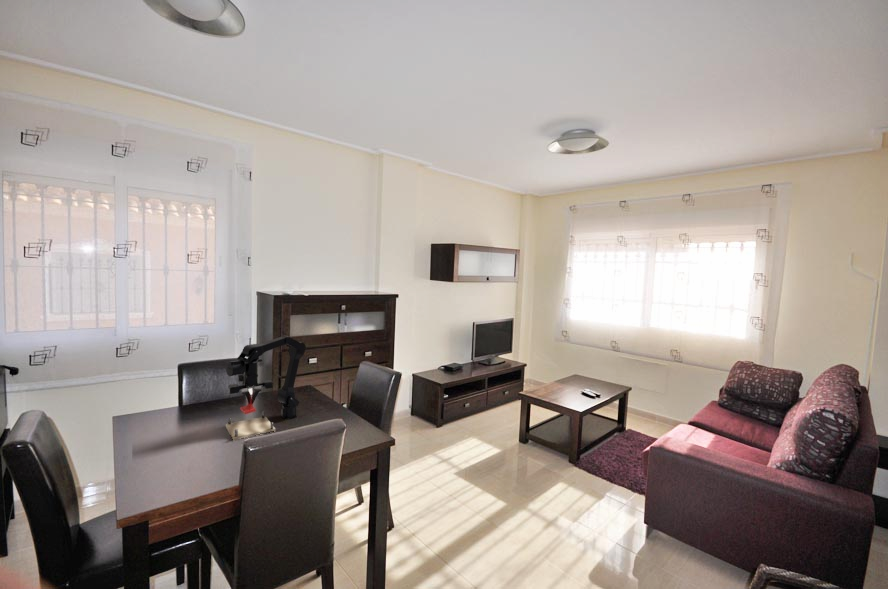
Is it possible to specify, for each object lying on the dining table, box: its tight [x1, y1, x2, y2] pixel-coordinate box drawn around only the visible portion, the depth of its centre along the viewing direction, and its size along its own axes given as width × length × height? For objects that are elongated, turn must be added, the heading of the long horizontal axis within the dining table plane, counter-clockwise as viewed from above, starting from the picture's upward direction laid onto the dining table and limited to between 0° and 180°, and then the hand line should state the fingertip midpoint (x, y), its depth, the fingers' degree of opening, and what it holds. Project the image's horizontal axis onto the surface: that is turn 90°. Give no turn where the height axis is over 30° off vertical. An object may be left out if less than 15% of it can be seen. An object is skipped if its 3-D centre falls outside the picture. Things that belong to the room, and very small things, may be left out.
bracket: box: [239, 391, 257, 415], centre depth 188 cm, size 12×4×8 cm, turn 37°
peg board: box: [225, 411, 276, 441], centre depth 189 cm, size 18×18×4 cm
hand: (250, 404), depth 188 cm, fingers closed on bracket
